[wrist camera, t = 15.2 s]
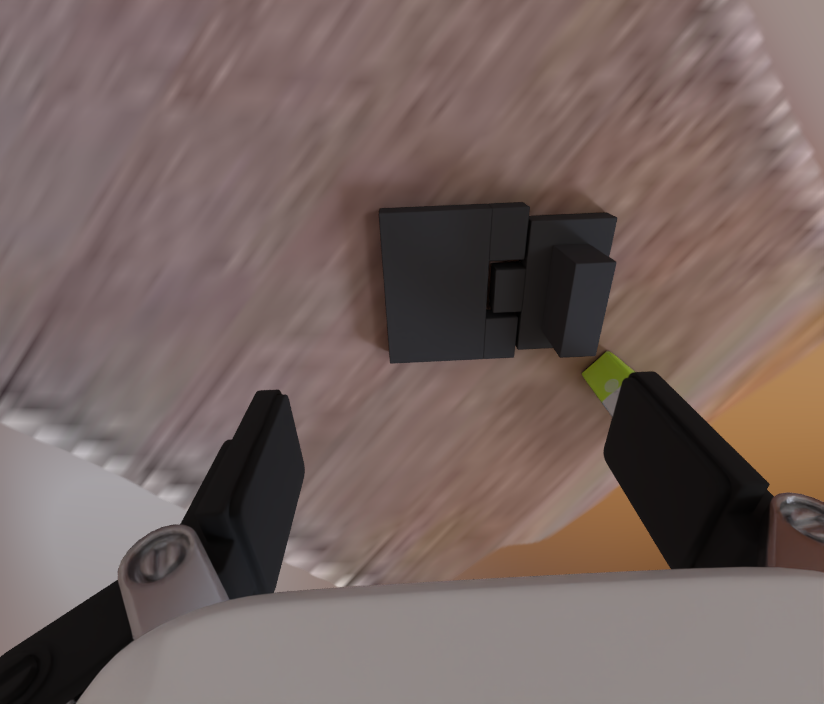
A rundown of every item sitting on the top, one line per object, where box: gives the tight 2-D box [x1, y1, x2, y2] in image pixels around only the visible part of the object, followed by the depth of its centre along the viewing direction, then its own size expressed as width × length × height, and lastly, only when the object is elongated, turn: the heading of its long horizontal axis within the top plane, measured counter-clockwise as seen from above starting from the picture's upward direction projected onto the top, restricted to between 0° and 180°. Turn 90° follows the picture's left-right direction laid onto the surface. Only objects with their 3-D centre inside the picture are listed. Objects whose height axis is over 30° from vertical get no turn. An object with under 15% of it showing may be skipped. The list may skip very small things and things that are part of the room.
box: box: [582, 351, 635, 417], centre depth 36 cm, size 10×4×17 cm, turn 52°
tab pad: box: [489, 213, 617, 358], centre depth 34 cm, size 12×10×7 cm
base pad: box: [379, 202, 530, 363], centre depth 36 cm, size 14×12×2 cm
